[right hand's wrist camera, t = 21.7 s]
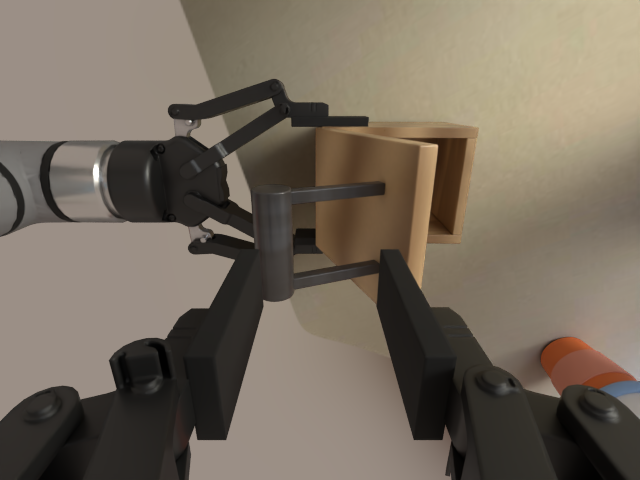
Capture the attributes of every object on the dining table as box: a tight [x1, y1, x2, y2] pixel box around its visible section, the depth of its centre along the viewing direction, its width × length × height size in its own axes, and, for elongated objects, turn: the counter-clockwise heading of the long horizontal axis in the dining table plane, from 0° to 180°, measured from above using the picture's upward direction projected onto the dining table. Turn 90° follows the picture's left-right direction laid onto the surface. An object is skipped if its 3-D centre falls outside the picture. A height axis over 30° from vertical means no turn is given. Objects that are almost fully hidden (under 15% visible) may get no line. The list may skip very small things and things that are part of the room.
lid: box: [251, 128, 438, 304], centre depth 23 cm, size 13×10×8 cm
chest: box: [322, 122, 479, 244], centre depth 34 cm, size 13×10×9 cm
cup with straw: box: [541, 337, 640, 419], centre depth 39 cm, size 9×9×18 cm
